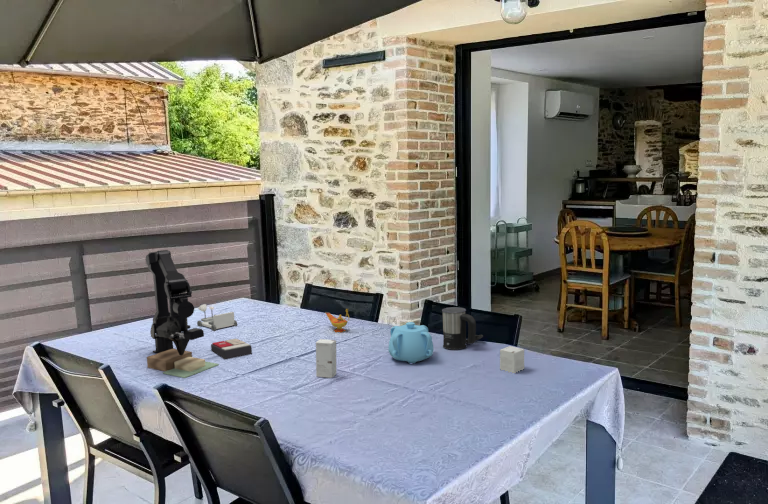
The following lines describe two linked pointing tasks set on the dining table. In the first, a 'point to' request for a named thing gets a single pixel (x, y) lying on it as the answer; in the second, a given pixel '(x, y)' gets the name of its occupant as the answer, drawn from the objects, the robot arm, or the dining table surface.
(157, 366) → the brown wooden block
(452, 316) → the milk frother
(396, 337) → the decorative pot
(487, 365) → the dining table surface
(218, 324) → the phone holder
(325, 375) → the white miniature cabinet
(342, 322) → the magic lamp
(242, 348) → the calculator
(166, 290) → the robot arm
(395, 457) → the dining table surface
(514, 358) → the skincare box
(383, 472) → the dining table surface
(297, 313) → the dining table surface
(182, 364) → the birch tile
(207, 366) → the mat
